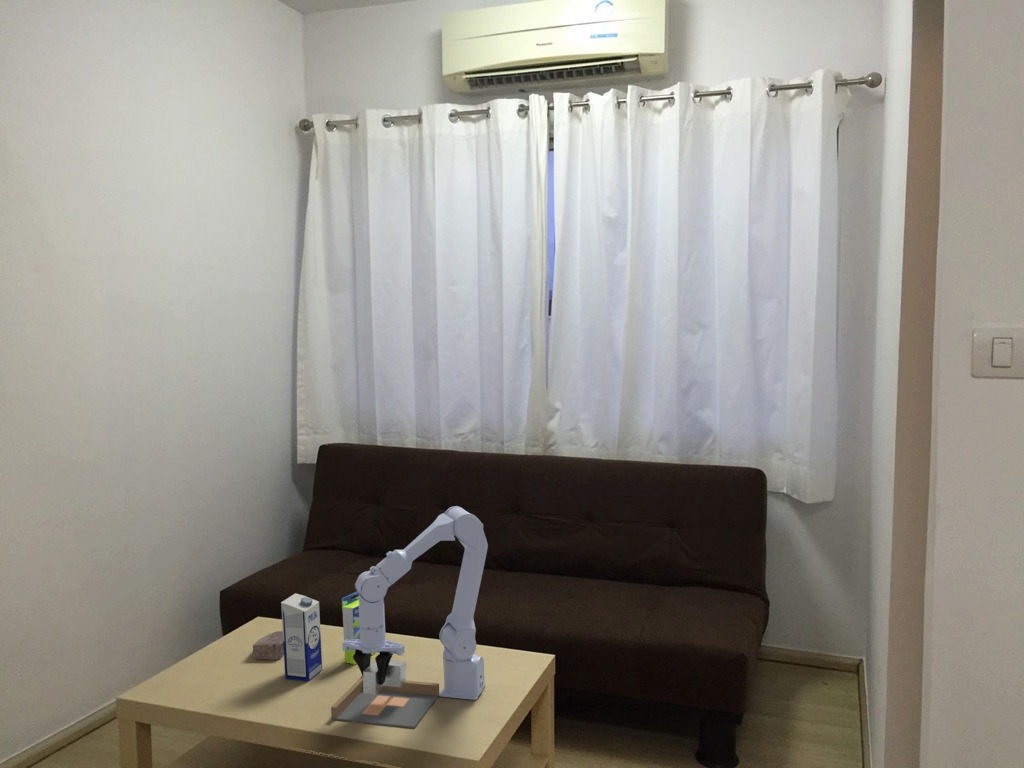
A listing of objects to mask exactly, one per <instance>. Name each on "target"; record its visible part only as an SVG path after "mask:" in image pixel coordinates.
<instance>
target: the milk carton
mask: <svg viewBox="0 0 1024 768" xmlns="http://www.w3.org/2000/svg"><path fill="white" fill-rule="evenodd" d="M280 604H281V607H280V608H281V624H282V631H283V646H284V655H283V663H284V679H286V680H294V681H303V682H310V681H312V679H313V678H314V677H316V676H317V675H318V674H319V673H320V672H322V671H323V655H322V654H323V653H322V639H321V637H322V635H321V620H320V618H321V617H320V601H318V600H316V599H313V598H311V597H308V596H306V595H303V594H299V593H296V592H295V593H294V594H292V595H290V596H289V597H288V598H286V599H284V600H282V601H281V602H280ZM321 670H322V671H321Z"/></svg>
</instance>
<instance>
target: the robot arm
mask: <svg viewBox="0 0 1024 768" xmlns="http://www.w3.org/2000/svg"><path fill="white" fill-rule="evenodd" d="M455 537H456V538H457V540H458V542H459V543H460V544H461V545H462V546H463V547H464V552H463V555H462V561H461V567H460V571H459V576H458V581H457V586H456V589H455V594H454V599H453V600H454V601H453V604H452V610H451V612H450V613H449V614H448V615H447V616H446V619H445V623H444V625H442V627H441V629H440V631H439V634H438V635H439V636H438V637H439V641H440V643H441V645H443V646H444V647H443V648H444V649H443V653H442V661H443V663H442V664H443V666H442V667H443V687H442V688H441V690H439V696H438V697H443V698H454V699H463V700H473V701H475V700H477V699H478V698H479V696H480V695H481V693H482V692H483V690H484V689H485V687H486V682H485V662H484V661H485V660H484V658H483V657H482V656H480V655H476V654H475V653H476V649H477V640H476V632H477V631H476V626H475V625H476V624H475V621H474V618H475V617H474V616H475V611H476V606H477V601H478V596H479V592H480V587H481V583H482V577H483V572H484V568H485V565H486V564H485V562H486V558H487V552H488V548H489V544H488V540H487V537H486V534H485V531H484V523H482V522H481V520H480V519H479V518H478V516H476V515H474V514H473V513H470V512H468V511H466V510H465V509H464V508H463V507H461V506H458V505H456V506H451V507H448V509H447V510H445V511H444V512H443V513H441V514H439V515H438V516H437V517H436V519H435V520H434V521H433V522H432V523H431V524H430V525H429V526H428V527H427V528H426V529H424V530H423V531H422V532H421V533H420V534H419V535H418V536H416V538H415V539H413V540H412V541H411V542H410V543H409V544H408V545H407V546H406V547H404V549H394V550H393V551H390V550H389V551H388V552H386V553H385V555H386V557H384V558H383V559H382V560H381V561H380V562H378V563H377V564H376V565H375V566H373V565H372V566H371V567H370V568H369V570H368V571H364V572H362V573H360V574H359V575H358V577H357V579H356V581H355V583H354V588H355V590H356V592H357V591H358V593H360V594H359V624H360V639H354V640H348V639H346V640H345V641H344V640H343V641H342V643H341V644H342V645H341V646H342V647H341V648H342V651H343V652H345V651H347V650H355V654H354V655H353V659H354V660H355V662H356V663H357V664H356V665H357V666H358V668H359V671H360V673H361V676H362V677H363V671H364V670H366V669H367V668H368V667H369V666H370V665H371V659H372V655H371V652H375V653H379V654H378V655H376V657H374V659H375V660H374V661H376V664H377V668H378V682H379V685H382V684H383V683H384V682H385V678H386V672H387V668H388V665H389V662H390V660H392V658H393V655H397V656H400V657H401V656H402V655H403V654H404V653H405V644H404V643H398V642H395V641H391V640H387V639H386V621H385V620H386V618H385V601H384V598H385V597H386V594H387V592H388V589H389V588H390V587H391V586H392V585H393V584H395V583H396V582H397V581H398V580H400V579H401V578H402V577H403V576H404V575H406V574H407V573H408V572H409V571H410V570H412V564H413V561H415V560H416V559H417V558H419V557H420V556H422V555H423V554H425V552H427V551H428V550H429V549H431V548H432V547H433V546H435V545H436V544H438V543H439V542H440V541H441V542H443V541H452V542H453V541H456V538H455Z"/></svg>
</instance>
